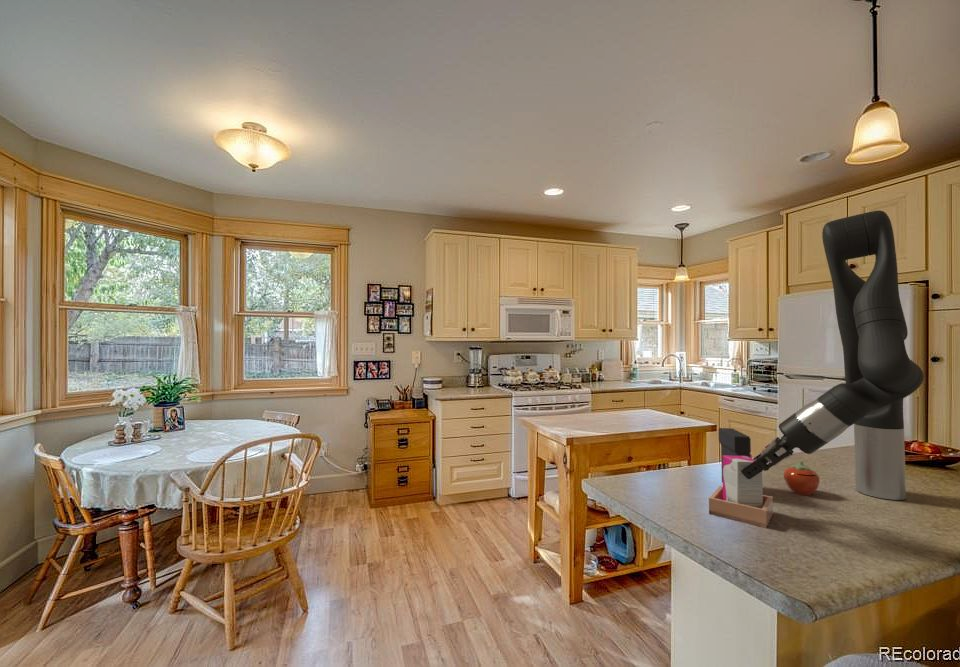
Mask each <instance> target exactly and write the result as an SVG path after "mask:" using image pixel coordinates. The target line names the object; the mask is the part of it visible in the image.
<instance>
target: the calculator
mask: <svg viewBox="0 0 960 667" xmlns="http://www.w3.org/2000/svg"><path fill="white" fill-rule="evenodd" d="M718 442H719V443H720V446H721V447H720V449H721V450H720V453H721V457H720V458H721V483H722V484H723V455H729V456H748V457H750V458H753V456H752V454H751V453H752V446H751V445H752V440H751V437H750V435H749V436H748V435H747V434H745V433H743V432H740V431H739V430H736V429H735V428H728V427H719V428H718Z"/></svg>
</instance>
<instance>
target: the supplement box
mask: <svg viewBox="0 0 960 667" xmlns="http://www.w3.org/2000/svg"><path fill="white" fill-rule="evenodd" d="M754 461H755V459H753V457H752V458H750V457H748V456H729V455H723V483H722V487H723V500H725V501H730V502H734V503H739V504H743V505H748V506H752V507H757V508H761V509H762V508H763V495H764V494H763V489H764V488H763V471H761V472H760V473H759V474H757V475H756V476H754V477H753V478H751V479H747V478H746V477H745V476H744V475H743V474H742V473H741V471H742V469H744V468H745V467H747V466H748V465H749V464H751V463H752V462H754Z"/></svg>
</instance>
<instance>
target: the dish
mask: <svg viewBox="0 0 960 667" xmlns="http://www.w3.org/2000/svg"><path fill="white" fill-rule="evenodd" d="M708 514H709V515H712V516H716V517H720V518H725V519H729V520H733V521H737V522H740V523H744V524H749V525H753V526H756V527H760V528H765V529H767V528H768V525H769V523H770V521H771V518H772V516H773V515H774V496H772V495H771V496H769V495H765V494H763V508H762V509H761V508H757V507H752V506H748V505H743V504H739V503H734V502H730V501H725V500H723V485H722V486H721V485H720V486H718V487H717V488H716V489H715V490H714V492H712V494H711V495H710V496H709V497H708Z"/></svg>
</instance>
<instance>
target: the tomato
mask: <svg viewBox="0 0 960 667" xmlns="http://www.w3.org/2000/svg"><path fill="white" fill-rule="evenodd" d="M782 475H783V476H782V477H783V479H784V482H785V484H786V485H787V487H788V488H789V490H791V491H792V492H793V493H795V494H798V495H803V496H810V495H812V494H813V493H815V492H816V491H817V490H818V488H819V485H820V482H821V481H820V480H821V479H820V476H819V474H818V473H817V472H816V471H814V470H813V469H811V468H810V467H809V466H808V465H806V464H804V462H803V461H802V460H799V461H798V463H797V464H792V465H791V466H789V467H787V468H785V470H784V471H783V474H782Z"/></svg>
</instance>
